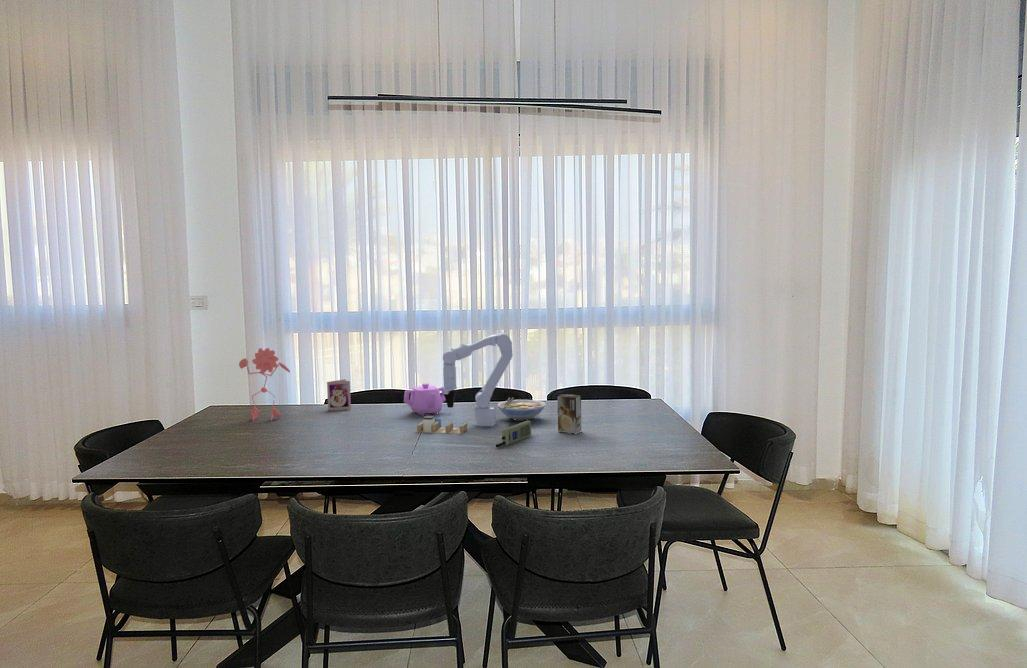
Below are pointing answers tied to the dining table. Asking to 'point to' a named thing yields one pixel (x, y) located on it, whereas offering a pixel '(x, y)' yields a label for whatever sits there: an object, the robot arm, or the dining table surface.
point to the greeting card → (338, 395)
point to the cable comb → (443, 428)
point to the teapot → (425, 399)
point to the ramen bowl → (521, 408)
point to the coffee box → (569, 413)
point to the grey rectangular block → (428, 422)
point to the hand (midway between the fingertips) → (450, 407)
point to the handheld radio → (515, 433)
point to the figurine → (264, 362)
